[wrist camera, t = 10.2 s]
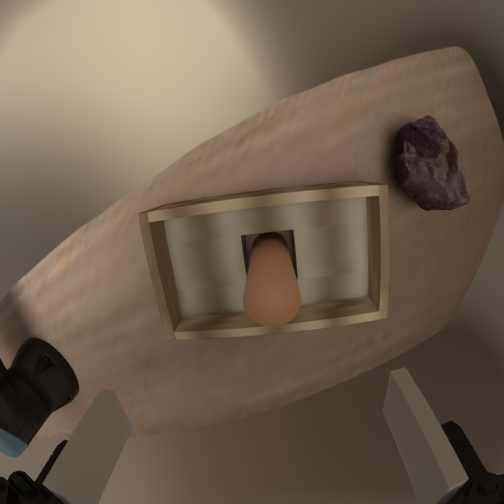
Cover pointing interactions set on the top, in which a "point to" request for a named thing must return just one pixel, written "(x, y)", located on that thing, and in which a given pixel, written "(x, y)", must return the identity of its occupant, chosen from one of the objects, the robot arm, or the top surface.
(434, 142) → the rock
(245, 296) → the peg
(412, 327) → the top surface
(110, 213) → the top surface
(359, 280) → the box
